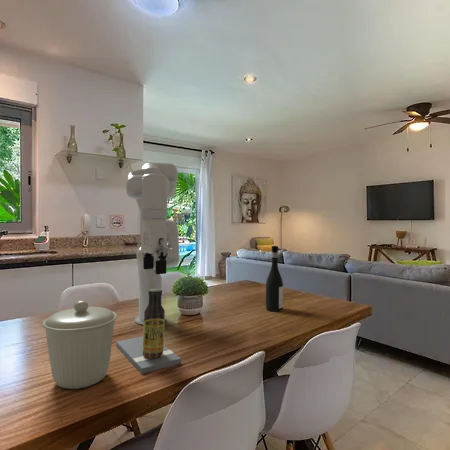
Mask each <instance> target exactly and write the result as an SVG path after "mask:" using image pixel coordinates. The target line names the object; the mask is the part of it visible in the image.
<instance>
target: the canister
mask: <svg viewBox="0 0 450 450" xmlns="http://www.w3.org/2000/svg"><path fill="white" fill-rule="evenodd" d="M117 319H118V314H117V313H116V312H115V311H112V310H111V309H109V308H107V307H102V306H89V303H88V302H87V301H86V300H78V301H76V302H75V303H74V304H73V307H72V308H66V309H63V310H60V311H57V312H54V313H52V314H51V315H50V316H49V317H47V318H45V319H44V320H43V321H42V323H41V325H42V327H43V328H44V329H45V334H46V344H47V350H48V351H47V352H48V358H49V365H50V371H51V376H52V379H53V382H54V383H55V384H56V385H57V386H58V387H60V388H63V389H68V390H76V389H77V390H78V389H83V388H87V387H90V386H93V385H95V384H98V383H99V382H100V381H103V379H104V378H105V376H106V375H107V373H108V371H109V366H110V362H111V354H112V348H113V338H114V331H115V329H114V328H115V321H116V320H117Z"/></svg>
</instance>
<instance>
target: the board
mask: <svg viewBox="0 0 450 450" xmlns="http://www.w3.org/2000/svg"><path fill="white" fill-rule="evenodd" d="M115 345H116V348H117V349H118V350H119V351H120V352H121V353H122V354H123V356H125V357H126V359H128V361H129V362H130V363H131V364H132V365H133V366H134V367H135V368H136V369H137V371H138V372H139V373H140V374H141V375H143V374H146V373H147V374H148V373H150V372H154V371H158V370H162V369H165V368H170V367H173V366H177V365H180V364H182V358H181V357H180V356H179V355H177V354H176V353H175V352H174V351H173V350H171V349H169V347H167V346H166V345H164V349H163V354H162V355H161V356H160V357H157V358H146V357H144V356H143V335H142V336H137V337H132V338H127V339H123V340H118V341H116V343H115Z"/></svg>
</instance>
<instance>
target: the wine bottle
mask: <svg viewBox="0 0 450 450" xmlns="http://www.w3.org/2000/svg"><path fill="white" fill-rule="evenodd" d="M278 254H279V246H277V245H272V246H271V268H270V271H269V274H268V276H267V278H266V284H265V309H266V310H268V311H270V312H280V311H282V310H283V309H284V283H283V278H282V275H281V273H280V270H279V266H278V261H279V260H278V259H279V258H278V256H279V255H278Z"/></svg>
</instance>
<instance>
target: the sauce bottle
mask: <svg viewBox="0 0 450 450" xmlns="http://www.w3.org/2000/svg"><path fill="white" fill-rule="evenodd" d="M148 294H149V303H148V306H147V308H146V310H145V312H144V325H143V329H142V330H143V331H142V336H143V356H144V357H146V358H157V357H160V356H161V355H162V354H163V349H164V346H165V345H164V344H165V321H166V320H165V321H164V317H165V316H166V315H165V311H166V310H165V309H164V307H163V304H162V305H161V295H162V296H163V289H162V290H161V289H150V290H149V292H148Z"/></svg>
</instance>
